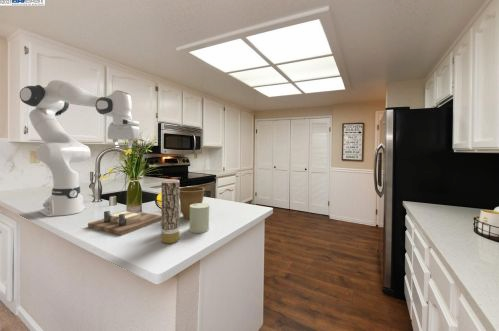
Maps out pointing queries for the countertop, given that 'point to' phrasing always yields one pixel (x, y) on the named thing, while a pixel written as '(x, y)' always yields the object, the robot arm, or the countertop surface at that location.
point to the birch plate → (129, 217)
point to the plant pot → (190, 198)
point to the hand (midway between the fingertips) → (123, 148)
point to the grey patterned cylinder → (170, 211)
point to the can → (199, 217)
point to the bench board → (125, 228)
